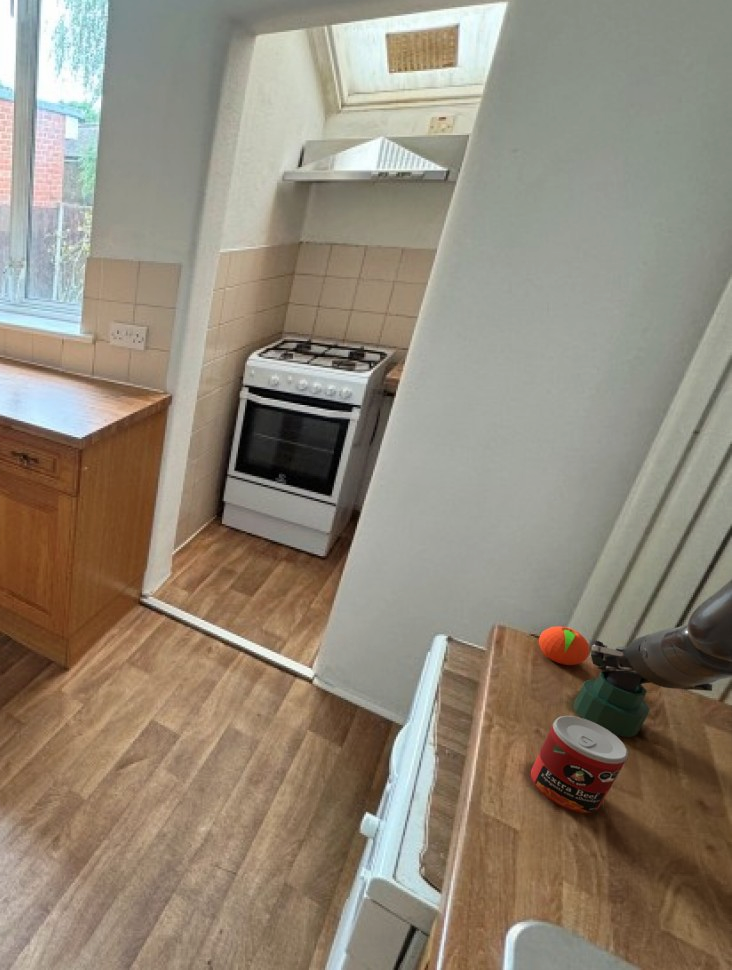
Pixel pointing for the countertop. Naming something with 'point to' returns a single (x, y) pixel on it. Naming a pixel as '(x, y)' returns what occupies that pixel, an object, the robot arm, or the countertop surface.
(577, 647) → the clementine
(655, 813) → the countertop surface
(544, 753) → the canned food
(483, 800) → the countertop surface
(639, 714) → the green pipe coupling
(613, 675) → the plug
